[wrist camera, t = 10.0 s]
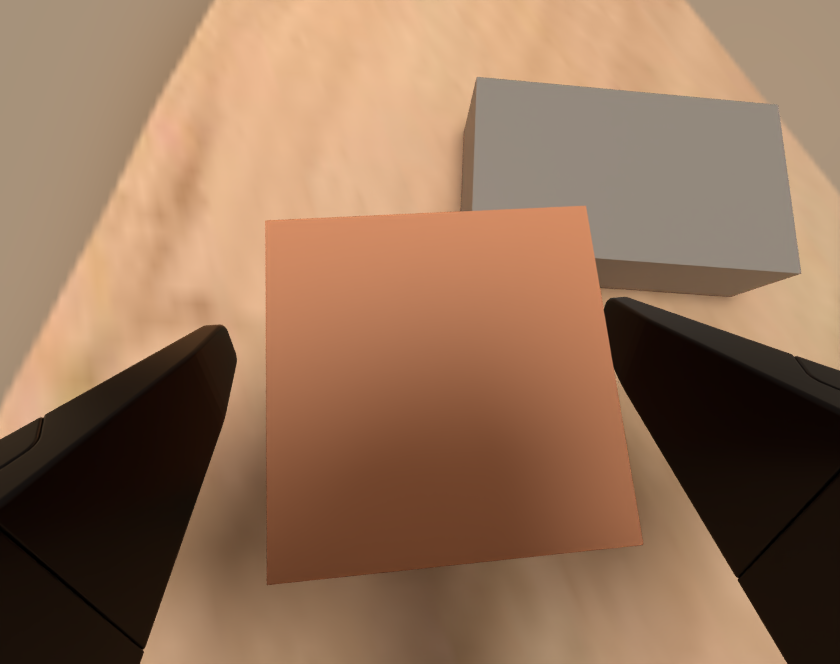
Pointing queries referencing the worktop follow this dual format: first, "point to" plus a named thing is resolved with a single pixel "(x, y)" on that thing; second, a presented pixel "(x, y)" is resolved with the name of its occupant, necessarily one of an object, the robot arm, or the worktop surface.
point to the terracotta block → (439, 394)
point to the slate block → (641, 180)
